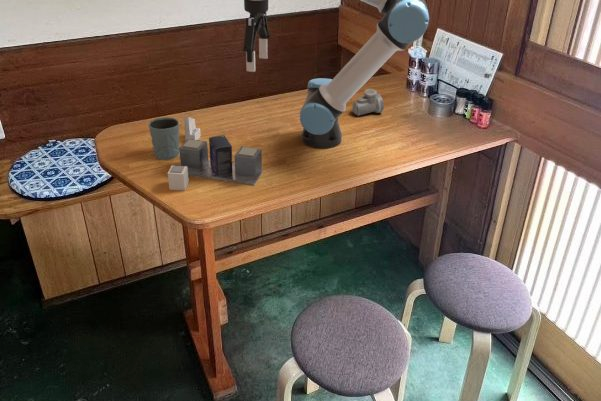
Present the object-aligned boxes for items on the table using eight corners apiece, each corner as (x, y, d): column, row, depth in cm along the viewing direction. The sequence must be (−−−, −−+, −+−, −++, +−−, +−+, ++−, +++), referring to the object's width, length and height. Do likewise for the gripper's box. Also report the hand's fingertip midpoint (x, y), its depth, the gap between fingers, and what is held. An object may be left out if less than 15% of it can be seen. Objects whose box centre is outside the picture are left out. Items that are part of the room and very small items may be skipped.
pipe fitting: (375, 106, 236) (376, 84, 229) (384, 115, 230) (385, 93, 223) (349, 113, 233) (349, 91, 226) (358, 122, 227) (358, 100, 220)
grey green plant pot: (146, 157, 194) (142, 126, 187) (162, 145, 202) (159, 114, 195) (172, 163, 191) (168, 131, 184) (187, 150, 199) (184, 119, 192)
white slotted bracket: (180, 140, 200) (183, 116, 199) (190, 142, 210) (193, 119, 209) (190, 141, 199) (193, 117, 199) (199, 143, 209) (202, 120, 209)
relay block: (188, 182, 180) (187, 165, 177) (185, 190, 176) (183, 173, 173) (173, 181, 181) (171, 164, 177) (169, 189, 176) (167, 172, 173)
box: (210, 165, 188) (208, 137, 182) (226, 163, 190) (224, 134, 184) (216, 176, 182) (214, 147, 176) (233, 173, 184) (231, 144, 178)
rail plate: (263, 170, 188) (263, 145, 183) (254, 185, 180) (253, 159, 175) (191, 160, 193) (189, 135, 188) (179, 174, 185) (176, 148, 179)
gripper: (256, -12, 183) (257, 52, 194) (231, 5, 162) (233, 75, 174) (278, -10, 182) (278, 54, 193) (255, 8, 161) (256, 78, 172)
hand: (257, 64), depth 183 cm, fingers open, 13 cm apart
